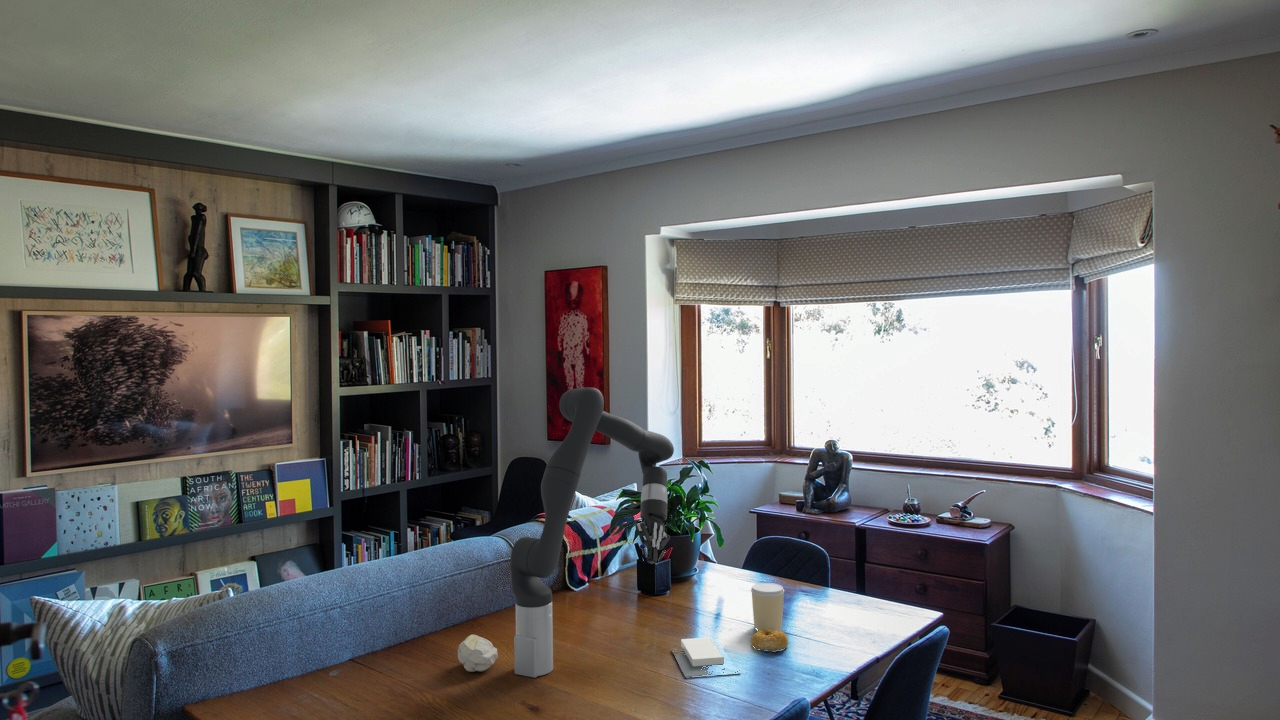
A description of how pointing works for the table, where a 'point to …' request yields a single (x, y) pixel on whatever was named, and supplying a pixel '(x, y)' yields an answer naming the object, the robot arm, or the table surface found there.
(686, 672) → the mat
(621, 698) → the table surface
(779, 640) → the bagel
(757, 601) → the coffee cup
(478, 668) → the white rock
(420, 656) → the table surface
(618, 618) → the table surface
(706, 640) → the tile
